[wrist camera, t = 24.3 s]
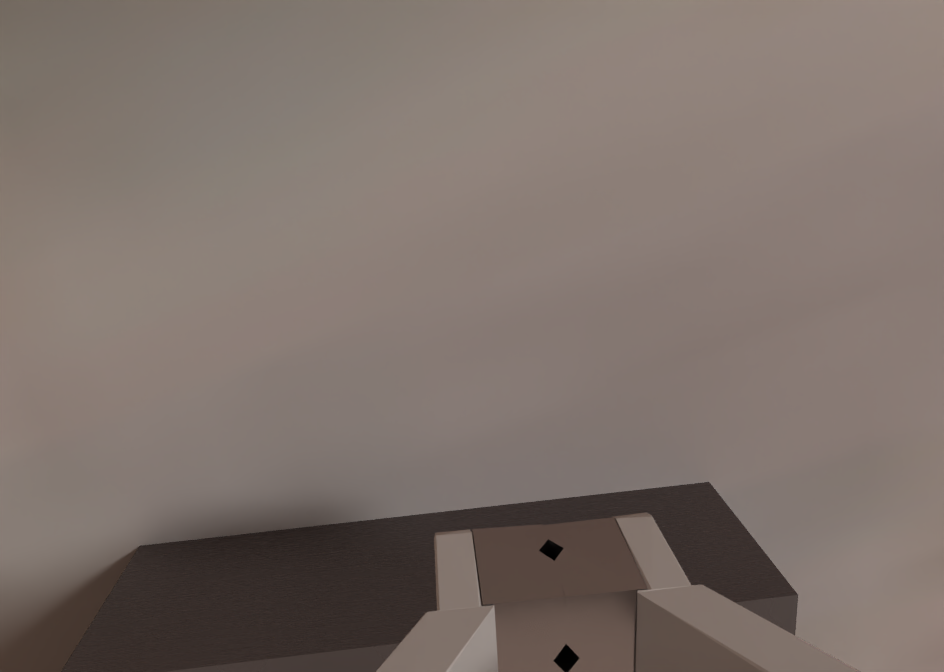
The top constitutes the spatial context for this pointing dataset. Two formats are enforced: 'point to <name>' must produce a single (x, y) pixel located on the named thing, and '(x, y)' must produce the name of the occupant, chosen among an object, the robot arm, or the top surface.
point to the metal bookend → (371, 585)
